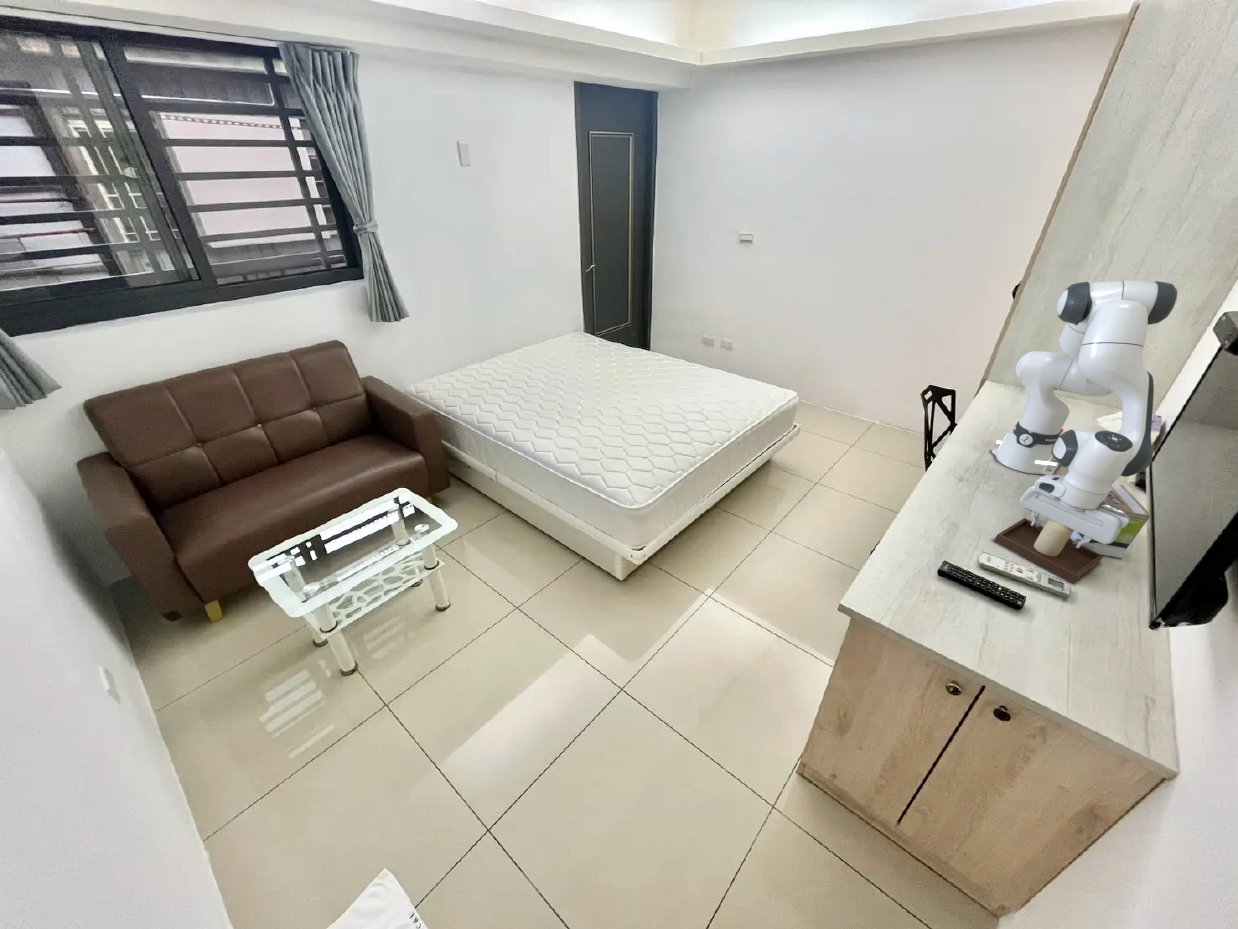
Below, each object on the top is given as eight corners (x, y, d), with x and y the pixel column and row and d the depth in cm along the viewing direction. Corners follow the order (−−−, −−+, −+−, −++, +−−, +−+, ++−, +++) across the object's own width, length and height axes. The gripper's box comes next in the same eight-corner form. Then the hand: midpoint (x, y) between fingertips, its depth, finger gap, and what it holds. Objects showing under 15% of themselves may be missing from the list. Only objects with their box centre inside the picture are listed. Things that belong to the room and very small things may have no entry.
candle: (1035, 540, 134) (1052, 511, 129) (1060, 549, 131) (1078, 521, 126) (1031, 549, 131) (1048, 521, 126) (1056, 559, 128) (1075, 530, 122)
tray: (1020, 524, 141) (1024, 517, 140) (1098, 563, 128) (1103, 556, 126) (993, 541, 135) (997, 534, 134) (1072, 583, 122) (1077, 576, 120)
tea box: (1121, 559, 129) (1153, 515, 121) (1075, 550, 132) (1104, 507, 124) (1096, 525, 141) (1124, 483, 133) (1055, 518, 144) (1080, 477, 136)
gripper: (1139, 511, 115) (1108, 554, 122) (1041, 471, 130) (1019, 512, 137) (1128, 520, 112) (1097, 563, 119) (1029, 478, 127) (1007, 519, 135)
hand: (1054, 535), depth 128 cm, fingers open, 8 cm apart
